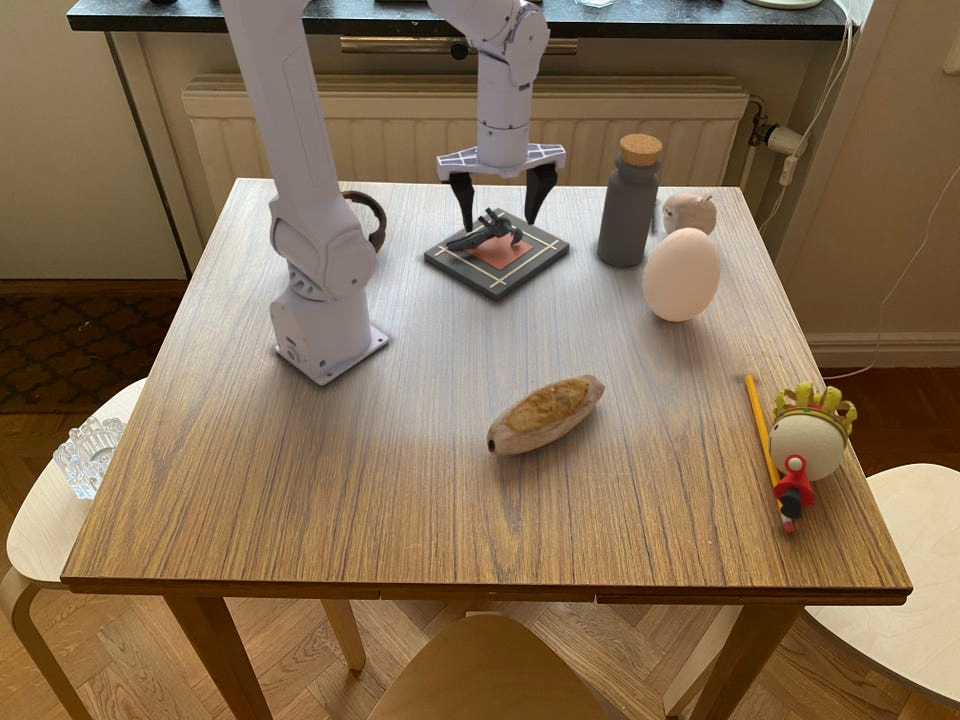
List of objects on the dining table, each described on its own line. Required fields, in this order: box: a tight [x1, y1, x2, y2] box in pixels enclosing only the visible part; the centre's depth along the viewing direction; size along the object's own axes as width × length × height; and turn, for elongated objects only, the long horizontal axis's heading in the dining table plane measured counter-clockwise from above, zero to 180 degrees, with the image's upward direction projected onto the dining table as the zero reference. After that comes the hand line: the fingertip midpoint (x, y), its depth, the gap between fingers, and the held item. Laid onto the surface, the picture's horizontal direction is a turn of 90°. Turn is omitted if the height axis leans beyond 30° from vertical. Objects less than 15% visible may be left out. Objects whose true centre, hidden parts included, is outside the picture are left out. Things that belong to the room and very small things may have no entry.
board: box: [423, 207, 571, 303], centre depth 88 cm, size 14×12×1 cm
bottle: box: [596, 133, 663, 267], centre depth 84 cm, size 6×6×15 cm
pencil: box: [744, 374, 795, 533], centre depth 67 cm, size 1×18×1 cm, turn 175°
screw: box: [651, 197, 658, 233], centre depth 95 cm, size 8×1×1 cm
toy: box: [768, 381, 858, 520], centre depth 64 cm, size 7×7×15 cm
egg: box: [642, 228, 721, 323], centre depth 77 cm, size 8×8×11 cm
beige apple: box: [662, 191, 718, 237], centre depth 89 cm, size 7×6×8 cm
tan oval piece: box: [486, 374, 606, 457], centre depth 67 cm, size 5×14×4 cm, turn 126°
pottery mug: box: [340, 189, 388, 255], centre depth 87 cm, size 12×10×8 cm
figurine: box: [445, 206, 523, 250], centre depth 87 cm, size 12×10×5 cm
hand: (498, 224), depth 85 cm, fingers open, 7 cm apart
